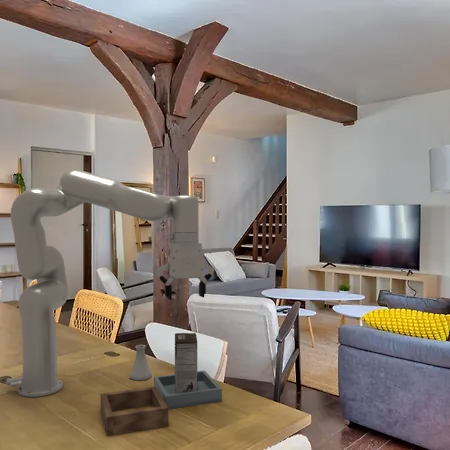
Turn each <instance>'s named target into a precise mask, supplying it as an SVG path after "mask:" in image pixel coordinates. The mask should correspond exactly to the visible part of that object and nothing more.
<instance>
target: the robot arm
mask: <svg viewBox="0 0 450 450" xmlns="http://www.w3.org/2000/svg"><path fill="white" fill-rule="evenodd" d="M84 203H88V204H92V205H95V206H98V207H101V208H104V209H108V210H111V211H114V212H118V213H121V214H124V215H128V216H131V217H134V218H138V219H142V220H145V221H149V222H163V221H169V220H172V222H171V223H172V224H171V227H172V228H171V229H172V230H171V231H172V232H171V234H167V235H166V238H167V240H170V241H171V243H169V248H168V254H167V255H168V256H167V263H166V264H163V265H162V266H160V267H158V268H157V269H155V270H154V271H155V273H156V276H157V277H158V279H159V281H161V282H162V283H163V284H164V296H165V297H166V298H167V300H168V301H169V300H172V299H173V295H172V294H173V292H172V291H173V289H172V287H173V286H172V285H171V283H173V281H174V280H185V279H198V280H199V283H198V297H201V298H205V295H206V291H207V284H208V281H209V280H210V279H211V278H212V277H213V273H214V272H215V267H214V266H212V265H209V264H207V263H206V262H205V258H204V251H203V245H202V242H199V240H200V239H199V238H200V237H199V198H198V197H197V196H195V195H188V194H187V195H181V194H180V195H175V196H171V195H164V194H156V193H152V192H148V191H144V190H141V189H137V188H134V187H132V186H127V185H126V184H124V183H123V182H121V181H119V180H116V179H113V178H109V177H106V176H105V177H104V176H101V175H97V174H94V173H91V172H88V171H83V170H79V169H70V170H67V171H66V172H65V173H64V174H62V176H61V177H60V181H59V185H57V186H56V187H54V188H47V187H32V188H28V189H26V190H25V191H22V192H21V193H19V195H18V196H16V198H15V199H14V201H13V203H12V205H11V207H10V221H11V226H12V231H13V237H14V238H13V239H14V246H15V253H16V259H17V261H16V262H17V266H18V272H19V273H20V275H21V277H23V278H24V279H25V280H30V281H31V280H32V281H33V280H36V283H34V284H32V285H30V286H28V287H26V288H25V289H24V290H23V291H22V292H21V294H20V295H19V298H18V312H19V316H20V323H21V338H22V343H21V345H22V373H21V375H18V377H14V378H13V377H11V378H6V386H10V388H13V387H14V388H15V387H17V388H16V389H17V393H18V394H19V396H22V397H26V398H27V397H28V398H32V397H33V398H36V397H37V398H38V397H44V396H49V395H52V394H55V393H57V392H58V391H59V392H60V390H61V389H63V384H64V383H63V381H62V380H61V379H59V378H58V348H57V347H58V344H57V343H58V340H57V339H58V338H57V337H58V336H57V323H56V320H55V319H56V318H55V316H54V315H55V314H54V311H55V310H59V308H62V306H64V305H65V303H66V302H67V300H68V296H69V290H68V289H69V287H68V280H67V274H66V268H65V267H66V266H65V262H64V261H65V260H64V257H63V254H62V253H61V252H60V250H58V249H57V248H56V247H55V246H51V245H48V244H47V240H46V233H45V229H44V226H43V224H42V222H41V218H43V217H46V218H47V217H58V216H61V215H64V214H66V213H67V212H69V211H71V210H73V209H74V208H77V207H79V206H81V205H82V204H84ZM205 269H206V270H207V273H206V274H205ZM165 271H167V276H166V277H164V275H163V272H165Z"/></svg>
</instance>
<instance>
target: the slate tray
mask: <svg viewBox="0 0 450 450" xmlns="http://www.w3.org/2000/svg"><path fill="white" fill-rule="evenodd" d="M153 387H157V389H158V391H159V392H160V394H161V396H162V398H163V399H164V401H165V403H166V404H167V406H168V409H169V410H173V409H178V408H185V407H191V406H192V407H193V406H199V405H207V404H211V403H212V404H213V403H218V402H219V403H220V402H223V388H222V387H221V386H220V385H219V384H218V382H217V381H216V380H214V378H212V376H211V375H210V374H209V373H208V372H207V371H206V370H205V369H204V370H197V391H193V392H185V393H178V394H176V392H175V373H174V374H173V373H172V374H166V375H157V376H153Z"/></svg>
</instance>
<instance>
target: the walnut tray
mask: <svg viewBox="0 0 450 450" xmlns="http://www.w3.org/2000/svg"><path fill="white" fill-rule="evenodd" d="M151 406H152V407H151ZM143 407H147V408H143ZM136 408H141V409H136ZM128 409H134V410H129V411H122V410H128ZM135 409H136V410H135ZM169 410H170V409H168V406H167V404H166V403H165V401H164V399H163V398H162V396H161V394H160V392H159V391H158V389H157V387H154V386H151V387H150V386H149V387H142V388H135V389H134V388H133V389H127V390H119V391H112V392H105V393H100V414H101V417H102V421H103V426H104V430H105V434H106V436H107V437H108V436H114V435H115V436H116V435H120V434H126V433H132V432H137V431H138V432H140V431H145V430H150V429H156V428H164V427H168V426H170V425H169V422H170V421H169V419H170V418H169V412H170V411H169ZM115 411H116V412H115ZM117 411H120V412H117Z"/></svg>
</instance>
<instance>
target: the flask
mask: <svg viewBox="0 0 450 450" xmlns="http://www.w3.org/2000/svg"><path fill="white" fill-rule="evenodd" d="M146 347H147V345H145V344H138V345H135V350H136V355H135V359H134V363H133V366H132V369H131V372H130V375H129V379H130V380H135V381H146V380H148V379H150V378H152V376H153V375H152V374H153V373H152V370H151V368H150V366H149V365H150V364H149V363H148V360H147V357H146V351H145V350H146Z"/></svg>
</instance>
